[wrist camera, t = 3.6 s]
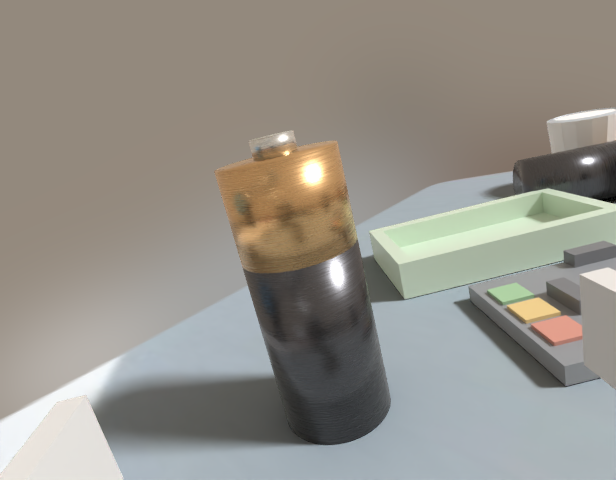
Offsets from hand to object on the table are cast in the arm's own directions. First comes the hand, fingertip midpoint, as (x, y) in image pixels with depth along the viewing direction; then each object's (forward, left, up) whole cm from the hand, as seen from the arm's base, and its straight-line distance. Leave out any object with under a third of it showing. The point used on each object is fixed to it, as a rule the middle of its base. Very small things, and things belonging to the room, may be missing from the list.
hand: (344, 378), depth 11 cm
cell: (-2, +7, -7) cm, 10 cm away
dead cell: (+22, +31, -7) cm, 38 cm away
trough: (+10, +23, -7) cm, 26 cm away
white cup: (+25, +38, -7) cm, 46 cm away
